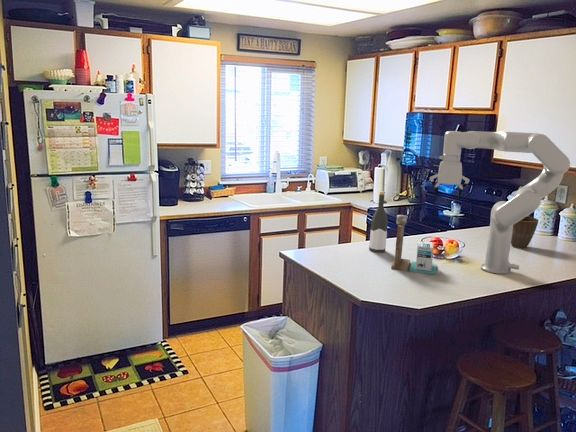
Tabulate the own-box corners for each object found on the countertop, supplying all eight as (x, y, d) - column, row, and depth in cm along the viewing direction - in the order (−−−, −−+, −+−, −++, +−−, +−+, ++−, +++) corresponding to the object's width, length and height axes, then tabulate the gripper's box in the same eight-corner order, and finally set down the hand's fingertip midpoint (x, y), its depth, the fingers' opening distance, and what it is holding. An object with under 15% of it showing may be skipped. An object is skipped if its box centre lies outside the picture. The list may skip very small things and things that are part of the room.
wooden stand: (409, 262, 231) (414, 214, 226) (407, 270, 219) (412, 219, 214) (394, 260, 233) (398, 212, 228) (390, 268, 221) (395, 218, 216)
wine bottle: (384, 248, 253) (389, 190, 246) (385, 253, 245) (391, 193, 238) (368, 247, 253) (373, 189, 247) (369, 252, 246) (374, 192, 239)
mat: (436, 266, 227) (436, 264, 227) (435, 274, 215) (435, 273, 215) (412, 263, 230) (412, 261, 230) (409, 271, 218) (409, 269, 218)
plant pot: (539, 251, 261) (544, 221, 258) (511, 250, 261) (515, 220, 258) (526, 244, 276) (530, 215, 272) (499, 242, 276) (503, 214, 272)
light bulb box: (431, 271, 217) (434, 247, 214) (415, 269, 218) (418, 246, 216) (430, 264, 227) (433, 241, 225) (415, 262, 228) (418, 240, 226)
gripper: (431, 158, 221) (427, 196, 225) (472, 160, 216) (468, 199, 220) (431, 157, 228) (428, 194, 232) (471, 159, 223) (467, 196, 227)
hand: (447, 196), depth 226 cm, fingers open, 9 cm apart
